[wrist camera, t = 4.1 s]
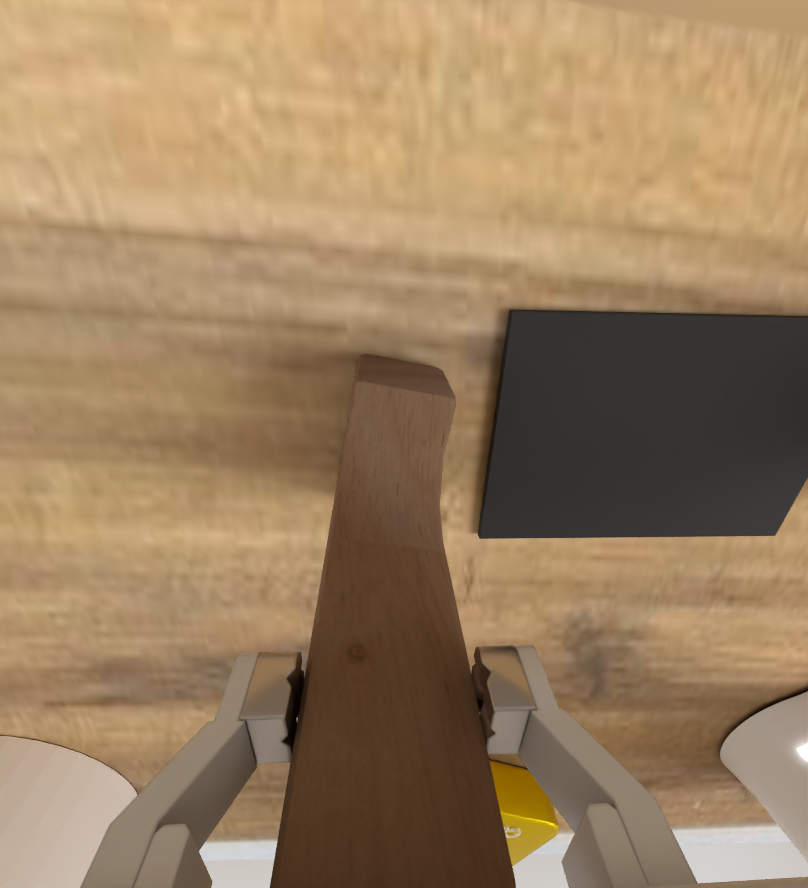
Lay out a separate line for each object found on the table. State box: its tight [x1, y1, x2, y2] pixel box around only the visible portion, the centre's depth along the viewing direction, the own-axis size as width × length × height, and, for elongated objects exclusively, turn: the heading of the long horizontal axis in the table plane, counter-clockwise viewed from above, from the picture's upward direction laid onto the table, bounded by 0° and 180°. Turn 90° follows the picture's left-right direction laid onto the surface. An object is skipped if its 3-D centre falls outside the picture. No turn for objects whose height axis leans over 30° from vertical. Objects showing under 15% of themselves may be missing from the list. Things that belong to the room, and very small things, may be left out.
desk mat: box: [478, 310, 808, 539], centre depth 23 cm, size 20×14×1 cm
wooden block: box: [270, 354, 516, 888], centre depth 15 cm, size 9×4×18 cm, turn 168°
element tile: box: [490, 760, 559, 866], centre depth 40 cm, size 15×15×5 cm
